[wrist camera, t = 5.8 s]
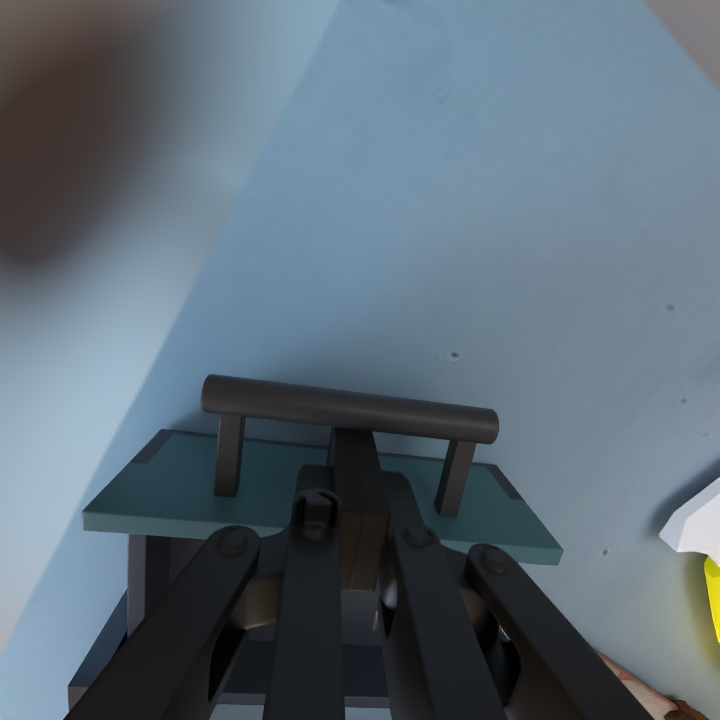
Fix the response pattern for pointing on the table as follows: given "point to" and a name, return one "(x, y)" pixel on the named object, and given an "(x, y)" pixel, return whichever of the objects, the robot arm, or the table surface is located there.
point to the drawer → (275, 500)
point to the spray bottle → (700, 538)
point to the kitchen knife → (653, 697)
